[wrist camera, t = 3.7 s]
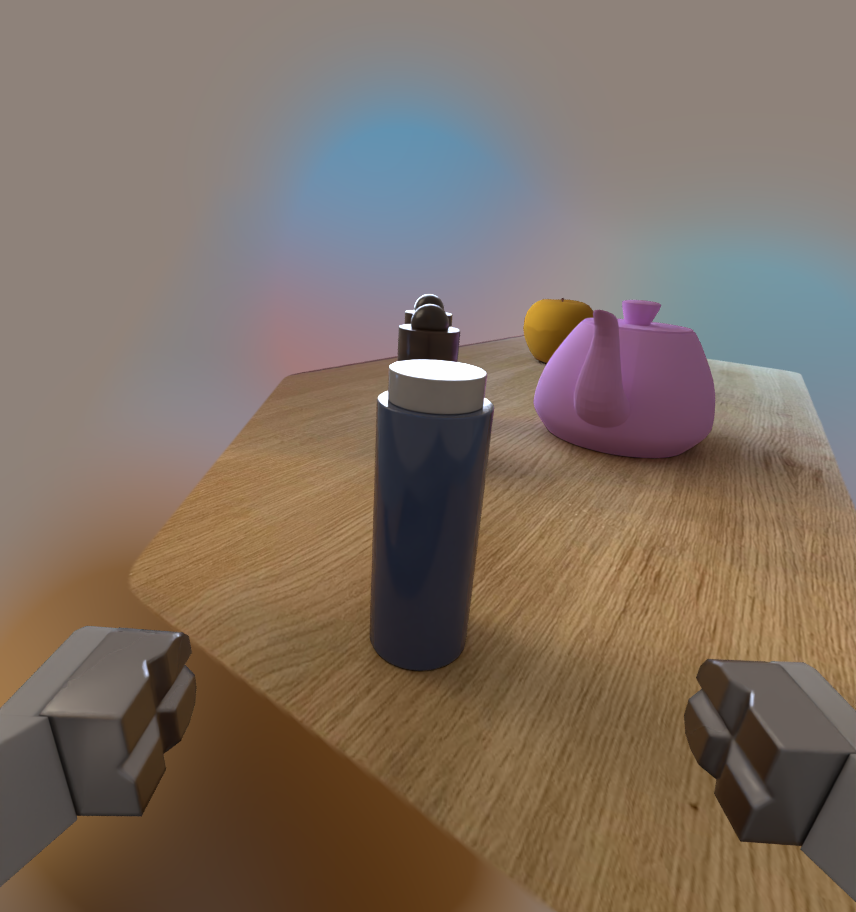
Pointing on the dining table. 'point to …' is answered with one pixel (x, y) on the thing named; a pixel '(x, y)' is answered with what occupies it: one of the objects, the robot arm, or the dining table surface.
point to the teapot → (628, 385)
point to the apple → (552, 324)
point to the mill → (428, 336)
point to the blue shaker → (427, 509)
